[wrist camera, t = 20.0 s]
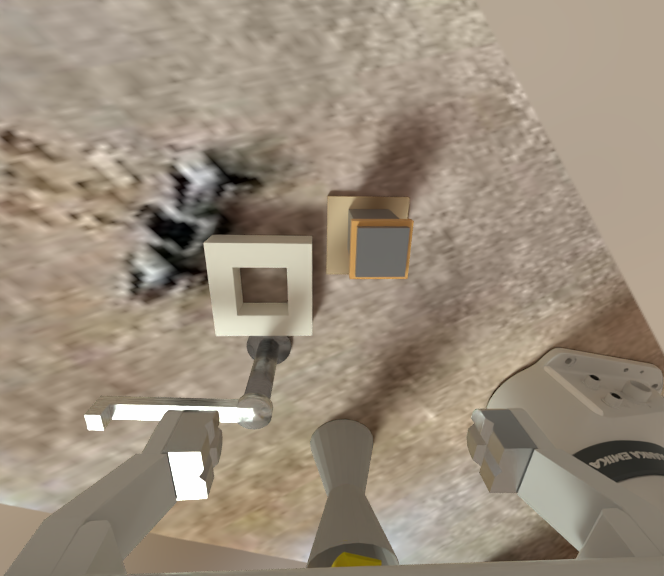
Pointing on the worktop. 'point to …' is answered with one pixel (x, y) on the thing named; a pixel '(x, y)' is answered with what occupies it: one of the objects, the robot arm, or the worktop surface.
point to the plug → (378, 244)
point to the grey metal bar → (245, 411)
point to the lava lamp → (347, 500)
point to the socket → (259, 253)
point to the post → (265, 361)
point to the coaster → (339, 224)
